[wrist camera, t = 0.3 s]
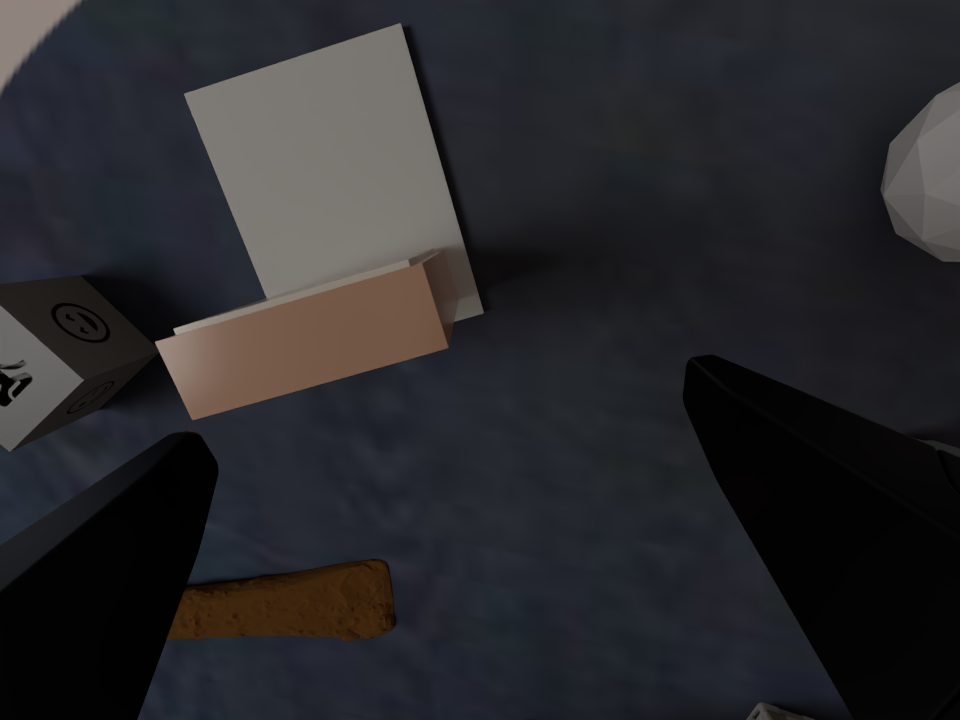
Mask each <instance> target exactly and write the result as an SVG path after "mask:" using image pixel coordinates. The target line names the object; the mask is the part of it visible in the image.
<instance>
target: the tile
mask: <svg viewBox="0 0 960 720" xmlns="http://www.w3.org/2000/svg"><path fill="white" fill-rule="evenodd" d="M458 301H459V298H458V295H457V292H456V288H455V285H454V282H453V278H452V275H451V272H450V268H449V265H448V261H447V258H446V255H445V251H444V250H441V251H437V252H435V250H434V248H433V249H429V250H426V251H422V252H419V253H416V254H412V255H409V256H406V257H402V258H399V259H395V260H392V261H389V262H385V263H382V264H379V265H375V266H372V267H368V268H365V269H362V270H358V271H355V272H351V273H348V274H345V275H341V276H338V277H335V278H331V279H328V280H324V281H321V282H318V283H314V284H311V285H308V286H304V287H301V288H297V289H294V290H291V291H288V292H284V293H281V294H278V295H275V296H272V297H269V298H266V299H263V300H260V301H257V302H254V303H251V304H248V305H245V306H242V307H238V308H235V309H232V310H229V311H226V312H223V313H220V314H217V315H214V316H211V317H208V318H205V319H202V320H199V321H195V322H192V323H189V324H186V325H183V326H180V327H177V328H174V329H173V330H174V332H175V334H176V335H173V336H170V337H168V338H165V339H162V340H159V341H156V342H155V344H156V346H157V348H158V350H159V352H160V354H161V356H162V358H163V360H164V362H165V364H166V366H167V369H168V371H169V373H170V375H171V377H172V379H173V381H174V383H175V385H176V387H177V389H178V391H179V393H180V396H181V398H182V400H183V402H184V404H185V406H186V408H187V410H188V412H189V414H190V416H191V418H192V420H195V419H199V418H202V417H206V416H209V415H213V414H217V413H220V412H224V411H227V410H231V409H234V408H238V407H241V406H245V405H248V404H252V403H256V402H259V401H263V400H266V399H270V398H273V397H277V396H280V395H284V394H287V393H291V392H295V391H298V390H302V389H305V388H309V387H312V386H316V385H319V384H323V383H326V382H330V381H334V380H337V379H341V378H344V377H348V376H351V375H355V374H358V373H362V372H365V371H369V370H373V369H376V368H380V367H383V366H387V365H390V364H394V363H397V362H401V361H404V360H408V359H412V358H415V357H419V356H422V355H426V354H429V353H433V352H436V351H440V350H443V349H447V348H449V344H450V339H451V335H452V330H453V325H454V320H455V316H456V311H457V306H458Z"/></svg>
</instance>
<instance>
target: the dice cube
mask: <svg viewBox="0 0 960 720" xmlns="http://www.w3.org/2000/svg"><path fill="white" fill-rule="evenodd" d="M158 353H159V350H158V348H157V347H156V346H155V345H154V344H152V343H151V342H150V341H149V340H148V339H147V338H146V337H145V336H144V335H143V334H142V333H141V332H140V331H139V330H138V329H137V328H136V327H134V326H133V325H132V324H131V323H130V322H129V321H128V320H127V319H126V318H125V317H124V316H123V315H122V314H121V313H120V312H119V311H118V310H117V309H115V308H114V307H113V306H112V305H111V304H110V303H109V302H108V301H107V300H106V299H105V298H104V297H103V296H102V295H101V294H100V293H99V292H98V291H96V290H95V289H94V288H93V287H92V286H91V285H90V284H89V283H88V282H87V281H86V280H85V279H84V278H83V277H82V276H81V275H79V276H70V277H61V278H52V279H43V280H34V281H25V282H16V283H7V284H0V444H1V445H2V446H3V447H4V448H6V449H7V450H8V451H9V452H11V451H13V450H15V449H17V448H19V447H21V446H23V445H26V444H28V443H30V442H32V441H34V440H36V439H38V438H40V437H42V436H45V435H47V434H49V433H51V432H53V431H55V430H57V429H59V428H61V427H63V426H66V425H68V424H70V423H72V422H74V421H76V420H78V419H80V418H82V417H85V416H87V415H89V414H91V413H93V412H95V411H97V410H99V409H100V408H101V407H102V406H103V405H104V404H105V403H106V402H107V401H108V400H109V399H110V398H111V397H112V396H113V395H114V394H116V393H117V392H118V391H119V390H120V389H121V388H122V387H123V386H124V385H125V384H126V383H127V382H128V381H129V380H130V379H131V378H132V377H133V376H135V375H136V374H137V373H138V372H139V371H140V370H141V369H142V368H143V367H144V366H145V365H146V364H147V363H148V362H149V361H150V360H151V359H152V358H154V357H155V356H156V355H157V354H158Z"/></svg>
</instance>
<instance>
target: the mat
mask: <svg viewBox="0 0 960 720" xmlns="http://www.w3.org/2000/svg"><path fill="white" fill-rule="evenodd" d="M184 96H185V98H186V101H187V103H188V105H189V108H190V110H191V113H192V115H193V118H194V120H195V123H196V125H197V128H198V130H199V133H200V135H201V137H202V140H203V142H204V145H205V147H206V150H207V152H208V155H209V157H210V160H211V162H212V165H213V167H214V169H215V172H216V174H217V177H218V179H219V182H220V184H221V187H222V189H223V192H224V194H225V196H226V199H227V201H228V204H229V206H230V209H231V211H232V214H233V216H234V219H235V221H236V224H237V226H238V228H239V231H240V233H241V236H242V238H243V241H244V243H245V246H246V248H247V251H248V253H249V256H250V258H251V260H252V263H253V265H254V268H255V270H256V273H257V275H258V278H259V280H260V283H261V285H262V288H263V290H264V292H265V295H266V297H267V298H269V297H272V296H275V295H278V294H281V293H284V292H288V291H291V290H294V289H297V288H301V287H304V286H308V285H311V284H314V283H318V282H321V281H324V280H328V279H331V278H335V277H338V276H341V275H345V274H348V273H351V272H355V271H358V270H362V269H365V268H368V267H372V266H375V265H379V264H382V263H385V262H389V261H392V260H395V259H399V258H402V257H406V256H409V255H412V254H416V253H419V252H422V251H426V250H429V249H433V248H434V250H435V252H437V251H441V250H444V251H445V255H446V258H447V261H448V265H449V268H450V272H451V275H452V278H453V282H454V285H455V288H456V292H457V295H458V298H459V301H458V306H457V311H456V316H455V320H454V322H455V321H459V320H462V319H466V318H469V317H473V316H476V315H480V314H483V313H484V312H483V308H482V305H481V301H480V298H479V294H478V291H477V287H476V284H475V280H474V277H473V273H472V270H471V266H470V263H469V259H468V256H467V252H466V249H465V245H464V242H463V238H462V235H461V231H460V228H459V224H458V221H457V217H456V214H455V210H454V207H453V203H452V200H451V196H450V193H449V189H448V186H447V182H446V179H445V176H444V172H443V169H442V165H441V162H440V158H439V155H438V151H437V148H436V144H435V141H434V137H433V134H432V130H431V127H430V123H429V120H428V116H427V113H426V109H425V106H424V102H423V99H422V95H421V92H420V88H419V85H418V81H417V78H416V74H415V71H414V67H413V64H412V60H411V57H410V53H409V50H408V46H407V43H406V39H405V36H404V32H403V29H402V26H401V23H399V24H396V25H393V26H390V27H387V28H384V29H381V30H378V31H375V32H372V33H369V34H366V35H363V36H360V37H357V38H353V39H350V40H347V41H344V42H341V43H338V44H335V45H332V46H329V47H326V48H323V49H320V50H317V51H314V52H311V53H308V54H305V55H301V56H298V57H295V58H292V59H289V60H286V61H283V62H280V63H277V64H274V65H271V66H268V67H265V68H262V69H259V70H256V71H253V72H250V73H246V74H243V75H240V76H237V77H234V78H231V79H228V80H225V81H222V82H219V83H216V84H213V85H210V86H207V87H204V88H201V89H198V90H194V91H191V92H188V93H185V94H184Z"/></svg>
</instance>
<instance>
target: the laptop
mask: <svg viewBox="0 0 960 720" xmlns="http://www.w3.org/2000/svg"><path fill="white" fill-rule="evenodd" d="M757 709H758V710H757ZM755 713H756V714H755ZM746 720H815V719H812V718H809V717H806V716H803V715H802V716H800V715H797V714H794V713H791V712H788V711H785V710H782V709H779V708H778V707H776V706H772V705H769V704H766V703H762V702H761V703H759V704H758V705H757V706H756V707H755V709H754V710H753V711H752V713H751V714H750V715H749V717H748V718H747V719H746Z"/></svg>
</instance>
